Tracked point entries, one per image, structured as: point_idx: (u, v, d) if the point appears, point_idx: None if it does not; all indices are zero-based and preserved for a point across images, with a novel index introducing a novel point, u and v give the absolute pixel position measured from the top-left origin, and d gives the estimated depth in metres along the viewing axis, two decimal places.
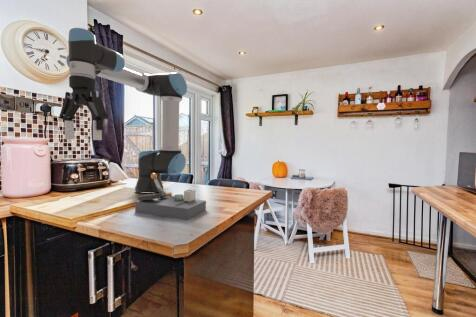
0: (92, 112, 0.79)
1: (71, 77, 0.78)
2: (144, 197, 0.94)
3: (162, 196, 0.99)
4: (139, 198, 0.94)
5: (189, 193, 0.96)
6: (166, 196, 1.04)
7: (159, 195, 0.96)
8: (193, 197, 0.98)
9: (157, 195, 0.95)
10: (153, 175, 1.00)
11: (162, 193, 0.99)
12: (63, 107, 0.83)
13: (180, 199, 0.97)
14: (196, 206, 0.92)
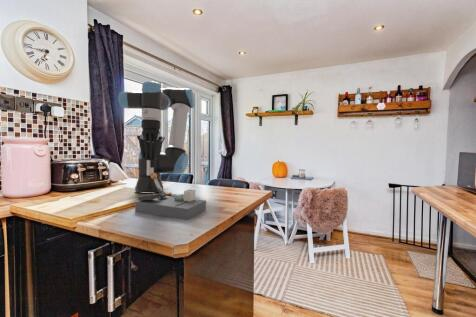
0: (150, 152, 1.00)
1: (144, 121, 0.97)
2: (144, 197, 0.94)
3: (162, 196, 0.99)
4: (139, 198, 0.94)
5: (189, 193, 0.96)
6: (166, 196, 1.04)
7: (159, 195, 0.96)
8: (193, 197, 0.98)
9: (157, 195, 0.95)
10: (153, 175, 1.00)
11: (162, 193, 0.99)
12: (141, 148, 1.01)
13: (180, 199, 0.97)
14: (196, 206, 0.92)
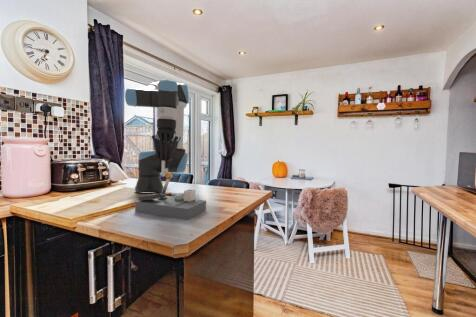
0: (166, 152, 0.97)
1: (160, 120, 0.94)
2: (144, 197, 0.94)
3: (161, 197, 0.99)
4: (139, 198, 0.94)
5: (189, 193, 0.96)
6: (166, 196, 1.04)
7: (159, 195, 0.96)
8: (193, 197, 0.98)
9: (157, 195, 0.95)
10: (169, 177, 0.97)
11: (163, 195, 0.99)
12: (156, 148, 0.98)
13: (180, 199, 0.97)
14: (196, 206, 0.92)
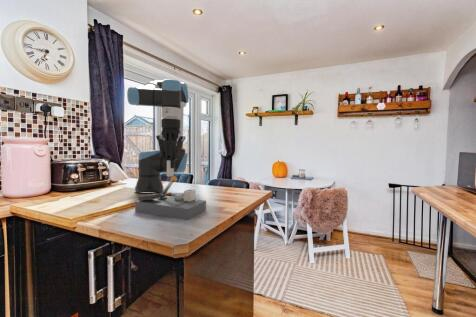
0: (171, 152, 0.96)
1: (165, 120, 0.94)
2: (144, 197, 0.94)
3: (160, 197, 0.99)
4: (139, 198, 0.94)
5: (189, 193, 0.96)
6: (166, 196, 1.04)
7: (159, 195, 0.96)
8: (193, 197, 0.98)
9: (157, 195, 0.95)
10: (173, 180, 0.97)
11: (163, 196, 0.99)
12: (160, 148, 0.98)
13: (180, 199, 0.97)
14: (196, 206, 0.92)
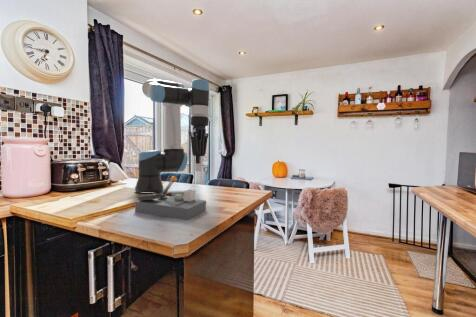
0: None
1: None
2: (144, 197, 0.94)
3: (160, 197, 0.99)
4: (139, 198, 0.94)
5: (189, 193, 0.96)
6: (166, 196, 1.04)
7: (159, 195, 0.96)
8: (193, 197, 0.98)
9: (157, 195, 0.95)
10: (173, 180, 0.97)
11: (163, 196, 0.99)
12: None
13: (180, 199, 0.97)
14: (196, 206, 0.92)
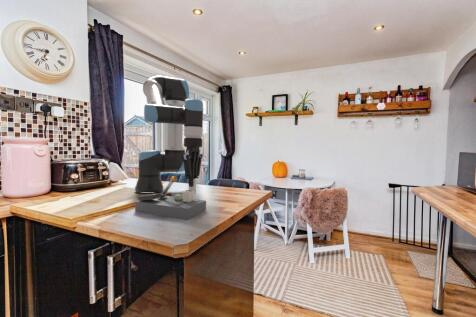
0: None
1: None
2: (144, 197, 0.94)
3: (160, 197, 0.99)
4: (139, 198, 0.94)
5: (188, 193, 0.95)
6: (166, 196, 1.04)
7: (159, 195, 0.96)
8: (192, 197, 0.97)
9: (157, 195, 0.95)
10: (173, 180, 0.97)
11: (163, 196, 0.99)
12: None
13: (180, 199, 0.97)
14: (196, 206, 0.92)
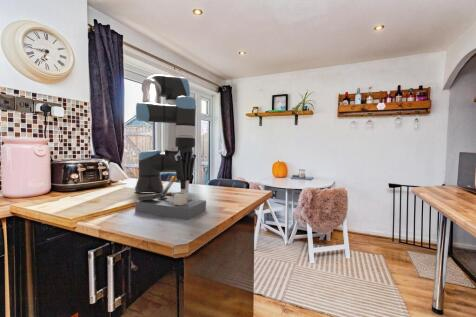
0: None
1: None
2: (144, 197, 0.94)
3: (160, 197, 0.99)
4: (139, 198, 0.94)
5: (180, 196, 0.89)
6: (166, 196, 1.04)
7: (159, 195, 0.96)
8: (184, 200, 0.92)
9: (157, 195, 0.95)
10: (173, 180, 0.97)
11: (163, 196, 0.99)
12: None
13: None
14: (196, 206, 0.92)
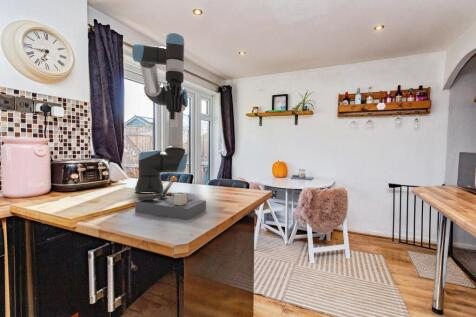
0: None
1: None
2: (144, 197, 0.94)
3: (160, 197, 0.99)
4: (139, 198, 0.94)
5: (180, 196, 0.89)
6: (166, 196, 1.04)
7: (159, 195, 0.96)
8: (184, 200, 0.92)
9: (157, 195, 0.95)
10: (173, 180, 0.97)
11: (163, 196, 0.99)
12: None
13: None
14: (196, 206, 0.92)
